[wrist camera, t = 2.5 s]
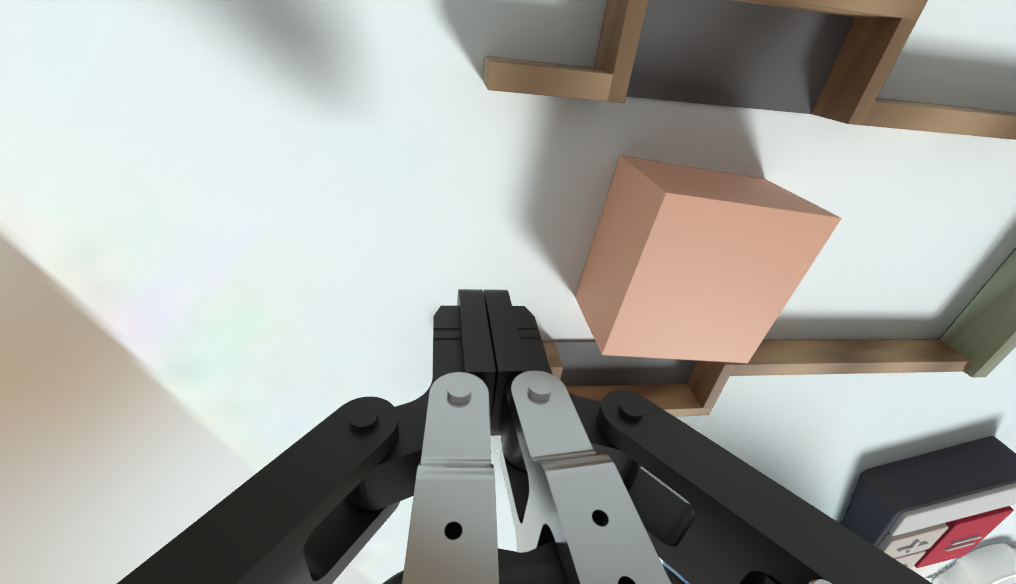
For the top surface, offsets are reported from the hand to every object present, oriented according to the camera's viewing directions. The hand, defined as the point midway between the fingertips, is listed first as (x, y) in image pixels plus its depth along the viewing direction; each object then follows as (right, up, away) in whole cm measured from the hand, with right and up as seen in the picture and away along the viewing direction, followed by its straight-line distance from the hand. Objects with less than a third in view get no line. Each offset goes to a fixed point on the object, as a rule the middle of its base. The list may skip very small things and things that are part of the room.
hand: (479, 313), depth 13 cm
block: (+8, +3, +7) cm, 11 cm away
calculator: (+37, -18, +26) cm, 49 cm away
